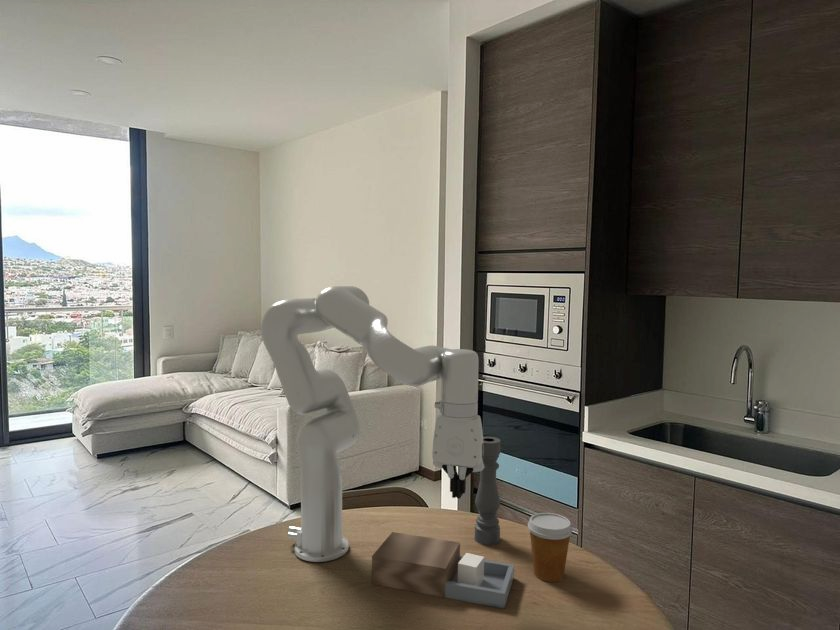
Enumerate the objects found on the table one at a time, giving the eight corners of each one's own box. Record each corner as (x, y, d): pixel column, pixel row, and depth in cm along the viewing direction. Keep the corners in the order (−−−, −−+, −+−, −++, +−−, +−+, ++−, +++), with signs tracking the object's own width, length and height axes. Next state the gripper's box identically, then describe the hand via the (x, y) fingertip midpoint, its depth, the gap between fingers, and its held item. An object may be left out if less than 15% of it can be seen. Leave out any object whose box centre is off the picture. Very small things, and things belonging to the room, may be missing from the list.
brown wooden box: (371, 583, 119) (371, 556, 119) (392, 557, 130) (392, 531, 130) (445, 597, 114) (445, 568, 114) (459, 568, 126) (460, 542, 125)
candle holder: (499, 546, 136) (500, 444, 135) (473, 543, 137) (474, 442, 136) (500, 535, 142) (502, 437, 141) (475, 532, 143) (477, 435, 142)
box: (445, 597, 114) (445, 583, 114) (459, 568, 126) (459, 555, 125) (504, 608, 110) (504, 593, 110) (513, 578, 122) (514, 564, 122)
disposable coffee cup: (546, 590, 117) (547, 534, 116) (517, 569, 126) (518, 516, 125) (580, 579, 121) (582, 525, 121) (551, 559, 130) (552, 508, 129)
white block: (457, 563, 117) (476, 567, 115) (466, 552, 122) (484, 556, 120) (457, 586, 117) (475, 591, 116) (466, 575, 122) (483, 579, 120)
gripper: (419, 410, 116) (418, 497, 117) (491, 416, 111) (489, 507, 113) (430, 402, 123) (428, 485, 124) (498, 408, 118) (496, 494, 120)
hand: (457, 495), depth 118 cm, fingers closed
